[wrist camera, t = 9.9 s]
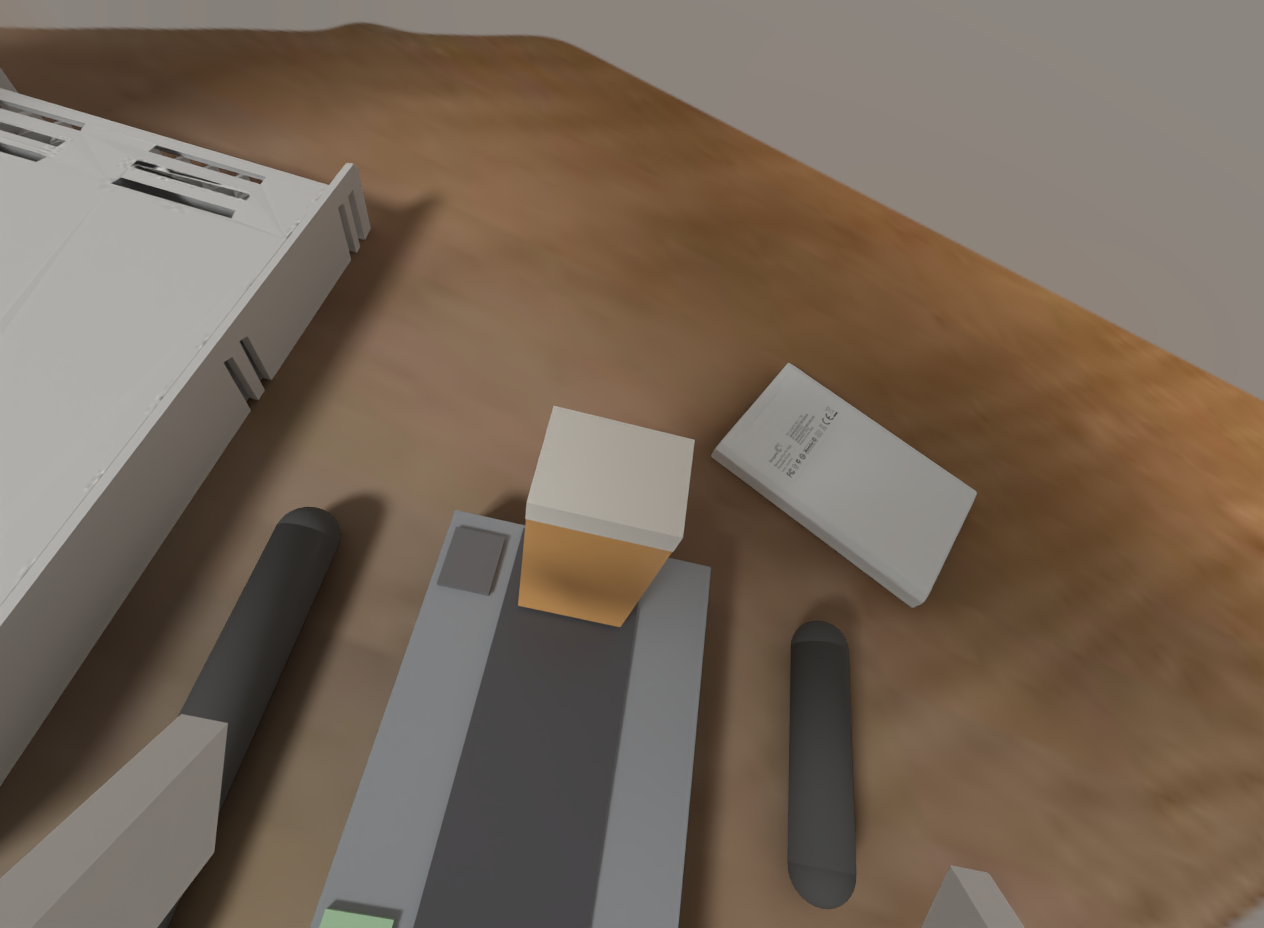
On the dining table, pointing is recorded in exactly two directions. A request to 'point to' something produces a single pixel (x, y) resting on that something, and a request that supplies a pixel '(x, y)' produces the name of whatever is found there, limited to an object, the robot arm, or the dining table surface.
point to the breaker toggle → (601, 515)
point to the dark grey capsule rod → (821, 768)
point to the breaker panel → (527, 757)
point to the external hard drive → (849, 482)
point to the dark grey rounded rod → (262, 634)
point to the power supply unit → (129, 359)
